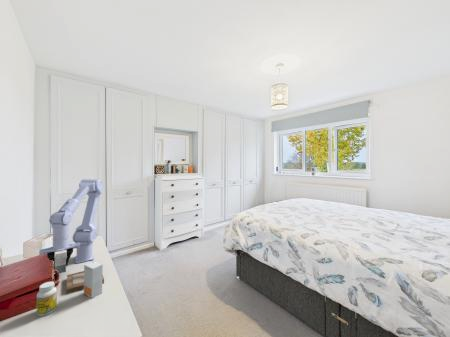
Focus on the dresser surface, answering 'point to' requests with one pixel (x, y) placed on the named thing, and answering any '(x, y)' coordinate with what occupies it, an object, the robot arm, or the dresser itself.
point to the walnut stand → (76, 282)
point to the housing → (60, 262)
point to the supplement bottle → (46, 299)
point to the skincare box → (93, 279)
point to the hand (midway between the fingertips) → (60, 266)
